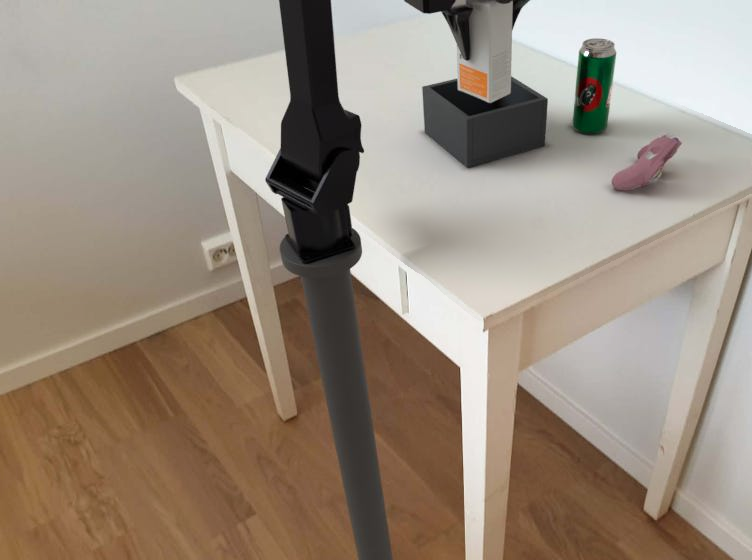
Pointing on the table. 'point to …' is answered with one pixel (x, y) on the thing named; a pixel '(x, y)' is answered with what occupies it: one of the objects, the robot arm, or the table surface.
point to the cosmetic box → (487, 51)
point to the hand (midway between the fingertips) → (483, 55)
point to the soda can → (594, 85)
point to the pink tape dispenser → (647, 163)
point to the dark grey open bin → (484, 122)
